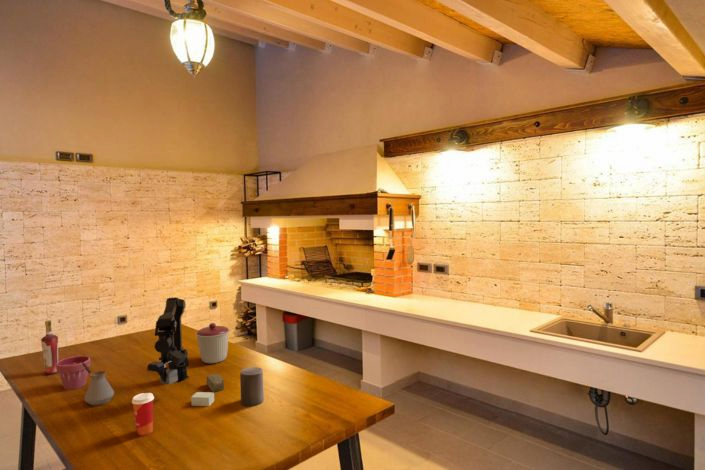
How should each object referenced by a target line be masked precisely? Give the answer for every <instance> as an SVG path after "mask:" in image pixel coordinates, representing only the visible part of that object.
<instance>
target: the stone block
mask: <svg viewBox="0 0 705 470" xmlns="http://www.w3.org/2000/svg"><path fill="white" fill-rule="evenodd" d="M206 385H207V387H208V389H210V390H211V392H212V393H216V392H221V391H223V390H225V382H224V379H223V378H222V377H221V375H220V374H219V373H215V374H210V375H206Z"/></svg>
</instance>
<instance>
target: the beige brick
mask: <svg viewBox="0 0 705 470" xmlns="http://www.w3.org/2000/svg"><path fill="white" fill-rule="evenodd" d="M190 401H191V402H190V403H191V406H195V407H196V406H197V407H210V406H211V405H212V404H213V403H214V402H215V392H212V391H211V392H208V391H205V392H204V391H201V392H200V391H196V392H195V393H193V394H192V396H191V397H190Z"/></svg>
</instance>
